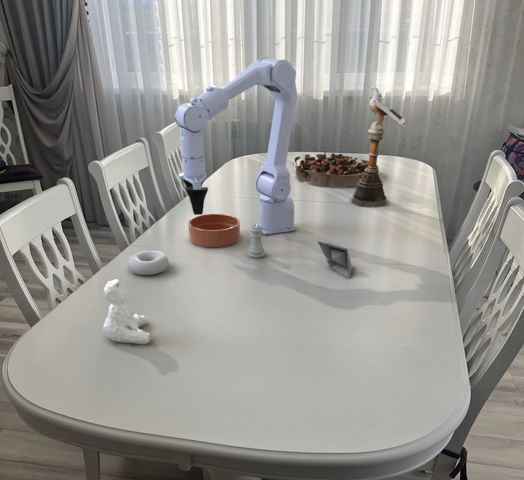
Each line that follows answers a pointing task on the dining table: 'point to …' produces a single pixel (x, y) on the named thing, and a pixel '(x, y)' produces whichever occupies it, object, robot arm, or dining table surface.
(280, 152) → the robot arm
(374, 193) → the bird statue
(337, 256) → the grey rectangular frame
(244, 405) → the dining table surface
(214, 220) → the bowl
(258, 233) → the rook chess piece
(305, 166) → the food dish
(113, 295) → the sitting furry creature
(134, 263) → the donut
